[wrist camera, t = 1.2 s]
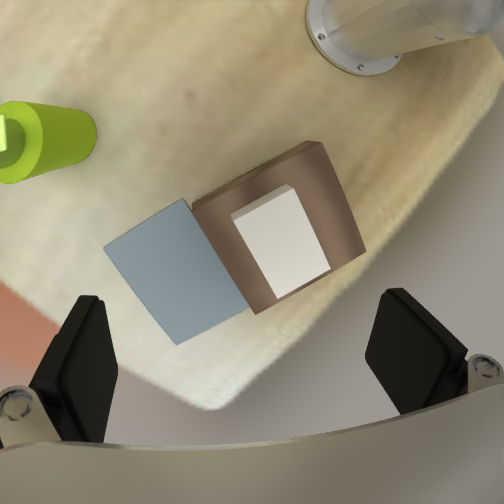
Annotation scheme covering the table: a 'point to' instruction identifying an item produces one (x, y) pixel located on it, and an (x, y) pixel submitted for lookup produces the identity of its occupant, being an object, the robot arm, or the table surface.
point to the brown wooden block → (312, 200)
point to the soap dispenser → (41, 139)
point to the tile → (281, 240)
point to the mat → (177, 273)
